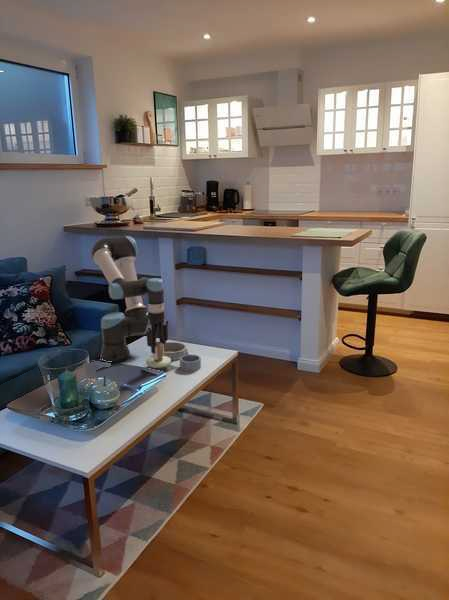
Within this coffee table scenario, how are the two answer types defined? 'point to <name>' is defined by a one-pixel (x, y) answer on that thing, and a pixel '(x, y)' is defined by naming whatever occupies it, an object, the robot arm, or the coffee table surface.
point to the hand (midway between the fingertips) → (158, 357)
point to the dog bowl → (175, 350)
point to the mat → (164, 368)
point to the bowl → (190, 363)
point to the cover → (158, 358)
